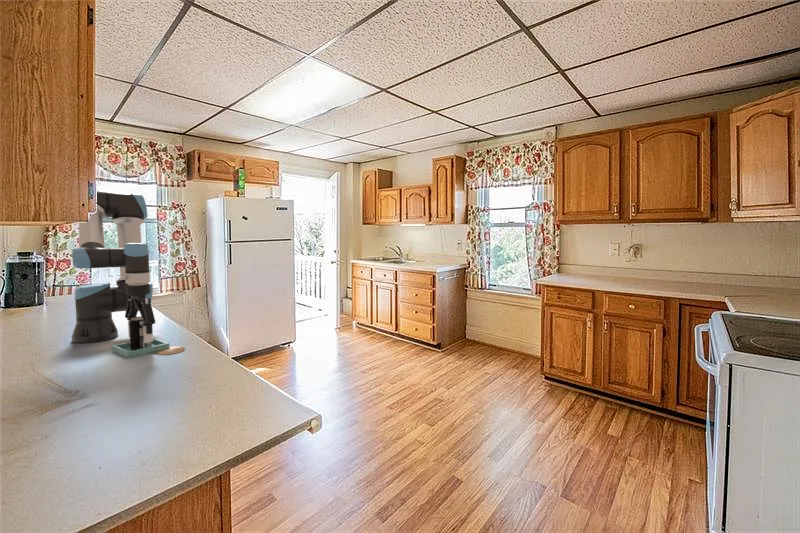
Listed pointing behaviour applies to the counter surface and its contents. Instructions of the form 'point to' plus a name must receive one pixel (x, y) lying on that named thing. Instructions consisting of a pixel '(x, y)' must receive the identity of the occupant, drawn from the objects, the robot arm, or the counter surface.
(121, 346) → the tray
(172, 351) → the cork coaster
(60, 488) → the counter surface
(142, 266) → the robot arm
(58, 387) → the counter surface
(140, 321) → the beverage can
